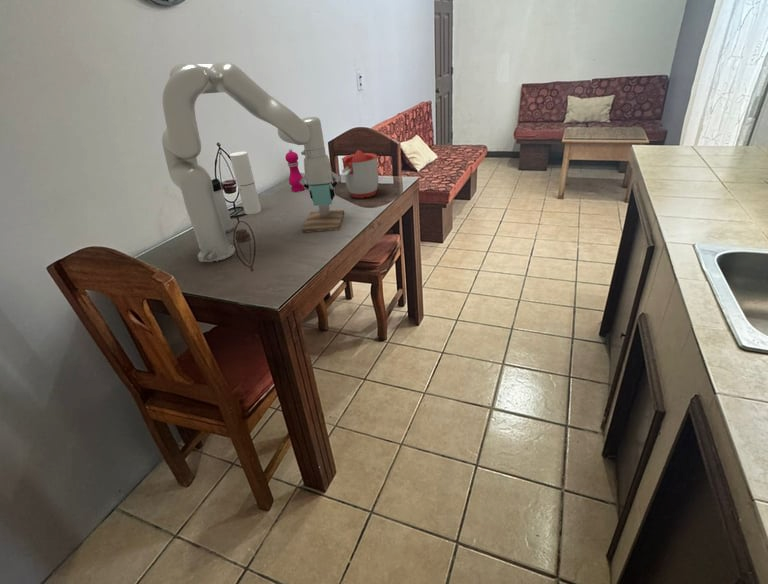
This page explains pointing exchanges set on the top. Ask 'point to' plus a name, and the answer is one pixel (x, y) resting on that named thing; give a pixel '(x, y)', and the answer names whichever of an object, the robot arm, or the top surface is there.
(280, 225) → the top surface
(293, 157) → the pepper mill
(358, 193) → the citrus juicer
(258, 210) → the cylindrical container
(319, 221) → the board
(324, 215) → the block
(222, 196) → the travel mug
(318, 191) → the mint green cube
